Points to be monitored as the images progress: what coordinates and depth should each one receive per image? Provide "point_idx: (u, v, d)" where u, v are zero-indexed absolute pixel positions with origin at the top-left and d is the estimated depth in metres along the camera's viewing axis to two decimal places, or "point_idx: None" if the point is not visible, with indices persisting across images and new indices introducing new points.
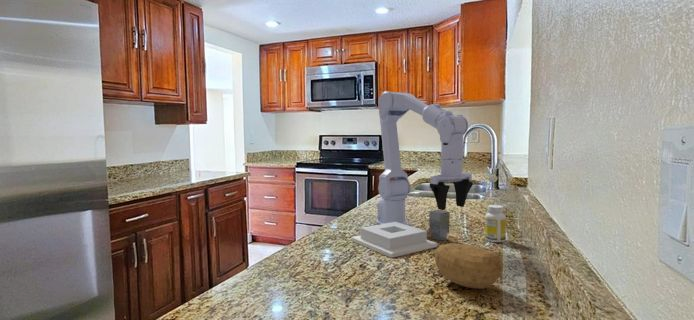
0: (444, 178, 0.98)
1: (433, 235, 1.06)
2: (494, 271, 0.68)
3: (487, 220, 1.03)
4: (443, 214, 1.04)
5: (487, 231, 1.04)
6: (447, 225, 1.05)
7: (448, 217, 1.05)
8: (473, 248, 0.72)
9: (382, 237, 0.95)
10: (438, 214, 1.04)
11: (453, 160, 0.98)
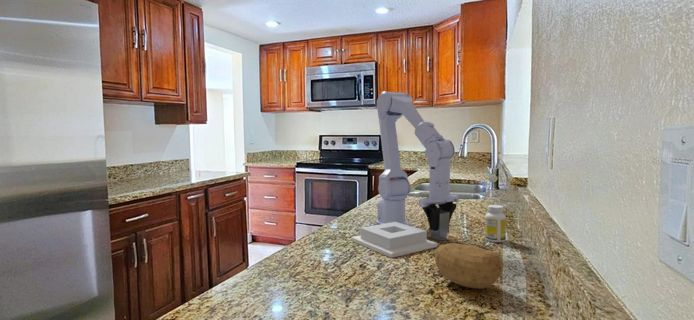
0: (432, 201, 1.02)
1: (433, 235, 1.06)
2: (494, 271, 0.68)
3: (487, 220, 1.03)
4: (443, 214, 1.04)
5: (487, 231, 1.04)
6: (447, 225, 1.05)
7: (448, 217, 1.05)
8: (473, 248, 0.72)
9: (382, 237, 0.95)
10: None
11: (440, 184, 1.02)
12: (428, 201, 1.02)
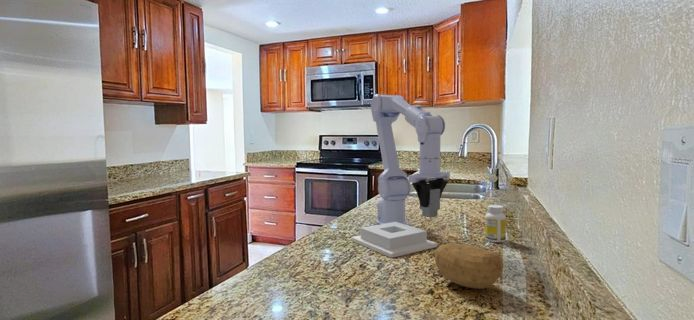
0: (422, 177, 1.00)
1: (423, 212, 1.05)
2: (494, 271, 0.68)
3: (487, 220, 1.03)
4: (433, 190, 1.03)
5: (487, 231, 1.04)
6: (438, 202, 1.04)
7: (439, 194, 1.04)
8: (473, 248, 0.72)
9: (382, 237, 0.95)
10: None
11: (430, 159, 1.01)
12: (418, 176, 1.00)
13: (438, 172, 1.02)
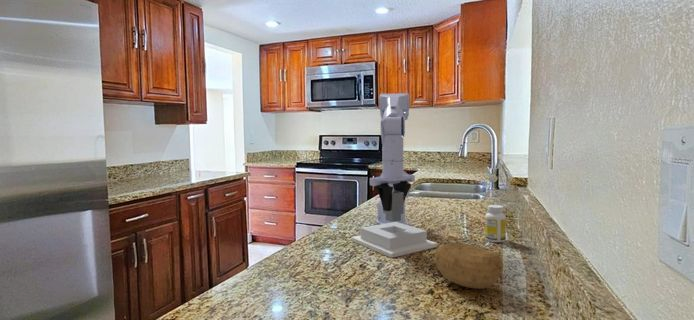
0: (383, 180, 0.97)
1: (387, 217, 1.01)
2: (494, 271, 0.68)
3: (487, 220, 1.03)
4: (396, 194, 0.99)
5: (487, 231, 1.04)
6: (401, 206, 1.00)
7: (402, 197, 1.00)
8: (473, 248, 0.72)
9: (382, 237, 0.95)
10: (391, 194, 0.99)
11: (392, 161, 0.98)
12: (379, 179, 0.97)
13: (401, 175, 0.99)
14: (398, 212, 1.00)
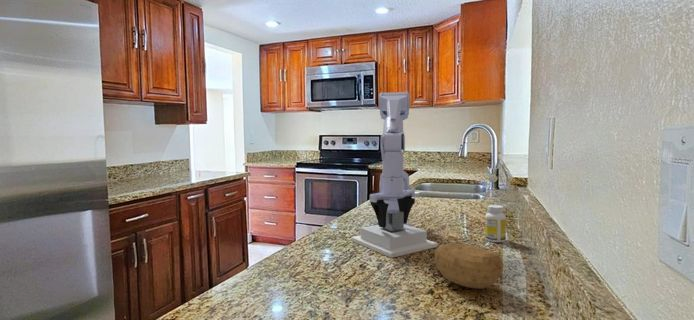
0: (383, 196, 0.97)
1: None
2: (494, 271, 0.68)
3: (487, 220, 1.03)
4: (396, 214, 1.00)
5: (487, 231, 1.04)
6: (401, 226, 1.01)
7: (402, 217, 1.01)
8: (473, 248, 0.72)
9: (382, 237, 0.95)
10: (391, 214, 0.99)
11: (392, 178, 0.98)
12: (379, 196, 0.97)
13: (401, 191, 0.99)
14: None
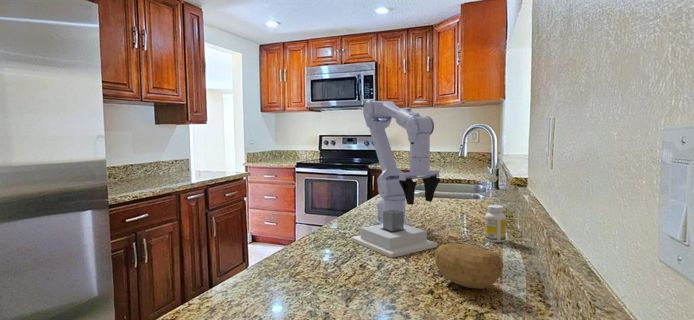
0: (412, 175, 1.05)
1: None
2: (494, 271, 0.68)
3: (487, 220, 1.03)
4: (396, 214, 1.00)
5: (487, 231, 1.04)
6: (401, 226, 1.01)
7: (402, 217, 1.01)
8: (473, 248, 0.72)
9: (382, 237, 0.95)
10: (391, 214, 0.99)
11: (420, 158, 1.06)
12: (408, 175, 1.05)
13: (427, 170, 1.07)
14: None
